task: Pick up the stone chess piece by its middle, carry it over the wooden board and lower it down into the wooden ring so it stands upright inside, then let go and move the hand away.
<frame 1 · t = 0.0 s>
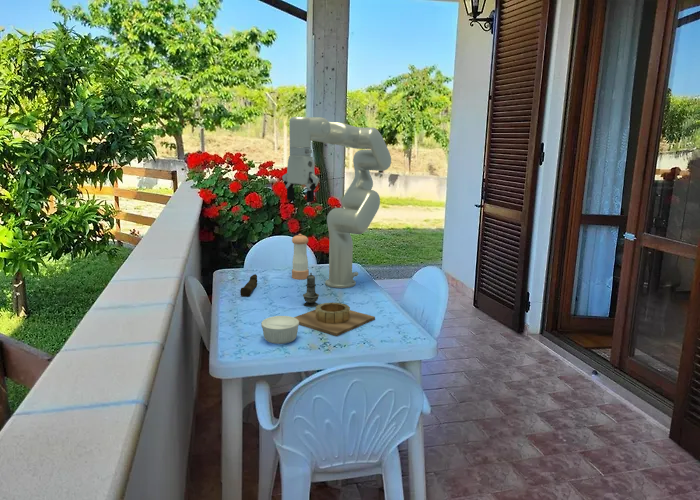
hand: (300, 200, 188), 37 cm above the table, tool pointing down, fingers open, 9 cm apart
wooden board: (332, 320, 171), on the table
ramekin: (280, 339, 155), on the table
pepper shaker: (300, 277, 224), on the table
wooden ring: (332, 312, 170), on the wooden board, point 3 cm above the table
stone chess piece: (310, 305, 187), on the table
brown long rounded piece: (249, 290, 204), on the table
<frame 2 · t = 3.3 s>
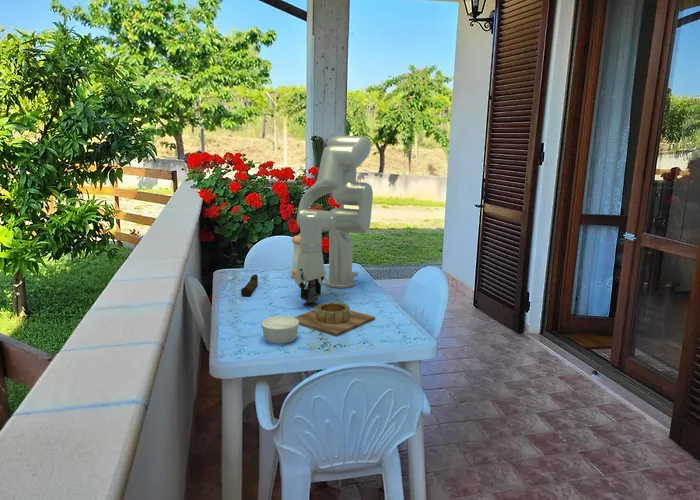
hand: (310, 296, 187), 3 cm above the table, tool pointing down, fingers closed on stone chess piece, 5 cm apart
stone chess piece: (310, 305, 187), on the table, touching gripper
everything else where it was.
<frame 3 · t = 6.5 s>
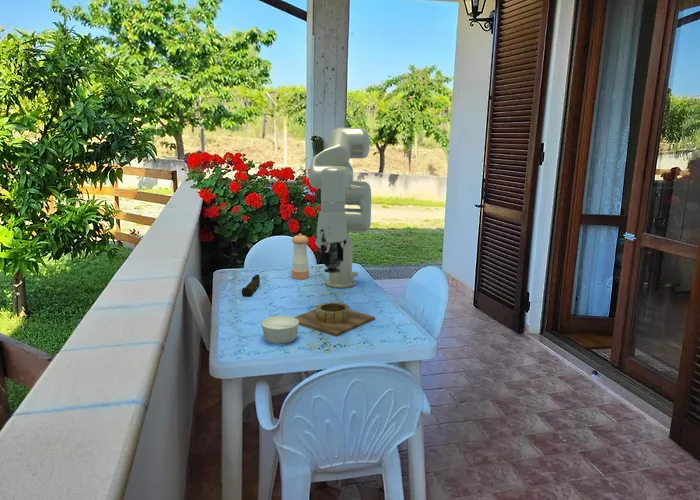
hand: (332, 262, 167), 20 cm above the table, tool pointing down, fingers closed on stone chess piece, 5 cm apart
stone chess piece: (332, 271, 168), point 17 cm above the table, touching gripper
everything else where it was.
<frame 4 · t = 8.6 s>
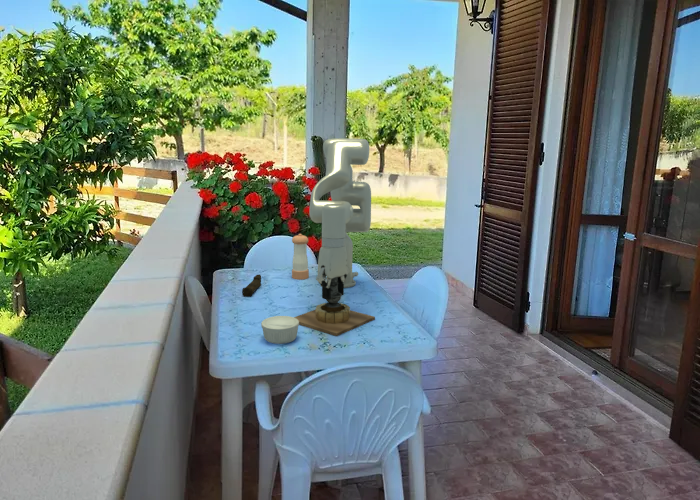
hand: (332, 296, 169), 8 cm above the table, tool pointing down, fingers closed on stone chess piece, 5 cm apart
stone chess piece: (332, 305, 170), point 5 cm above the table, touching gripper
when the fingers open (5 cm above the table, at t = 10.1 s): stone chess piece drops 1 cm, resting on wooden board.
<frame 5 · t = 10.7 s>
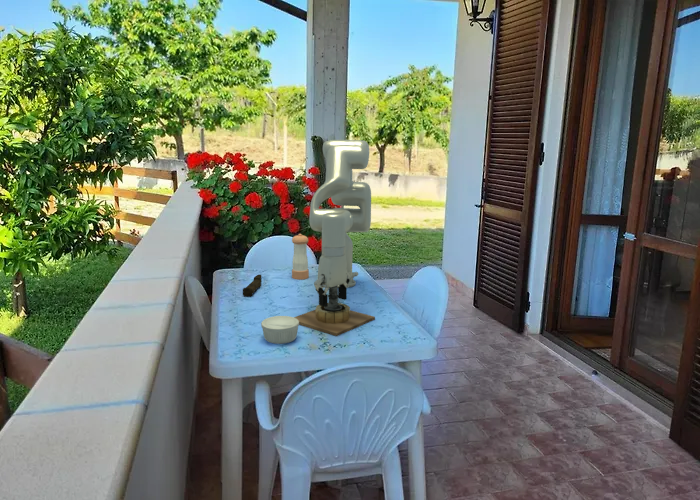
hand: (332, 302, 170), 6 cm above the table, tool pointing down, fingers open, 9 cm apart
stone chess piece: (332, 317, 171), point 1 cm above the table, touching wooden board
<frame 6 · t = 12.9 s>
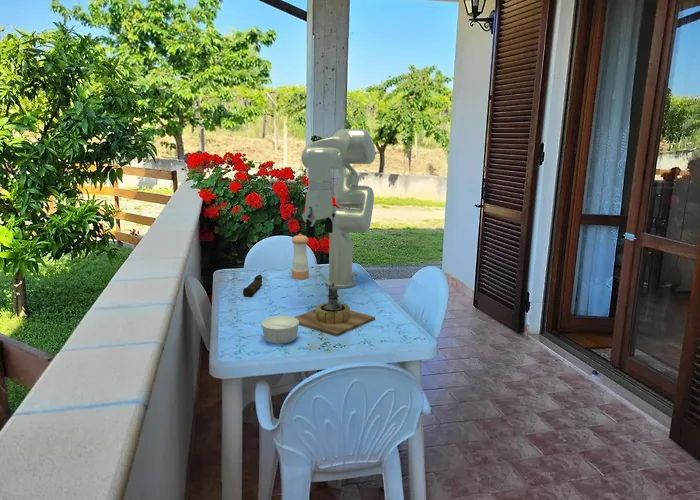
hand: (320, 234, 181), 26 cm above the table, tool pointing down, fingers open, 9 cm apart
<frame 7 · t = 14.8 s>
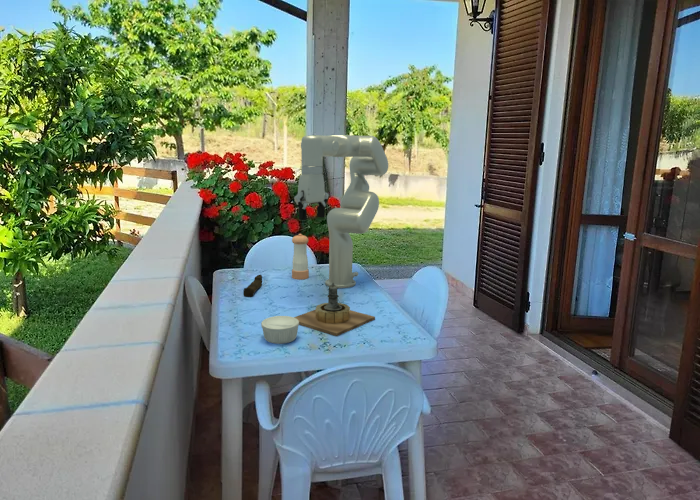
hand: (311, 218, 189), 30 cm above the table, tool pointing down, fingers open, 9 cm apart
at the end: stone chess piece 0.2 cm off-centre on the wooden ring, point 0.8 cm above the wooden ring's base; stone chess piece tilted 0°; the gripper is holding nothing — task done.
